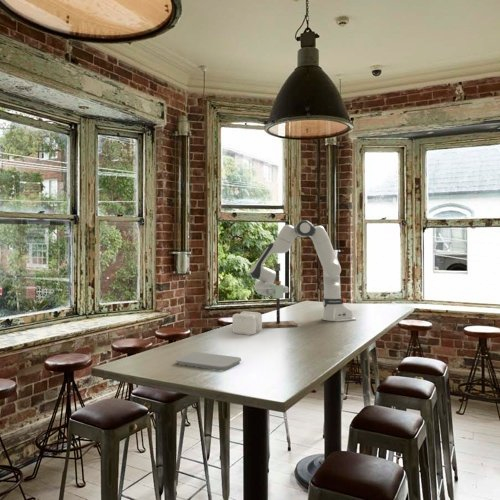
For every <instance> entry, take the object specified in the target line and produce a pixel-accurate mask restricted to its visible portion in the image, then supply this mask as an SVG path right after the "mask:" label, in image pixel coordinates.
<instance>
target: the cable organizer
mask: <svg viewBox="0 0 500 500" xmlns="http://www.w3.org/2000/svg"><path fill="white" fill-rule="evenodd" d="M262 316H263V315H262V313H260V312H257V311H256V312H255V311H247V310H243V311H241V312H240V313H234V314H232V320H231V321H232V332H233V333H234V334H235V333H236V335H237V334H238V335H242V334H243V335H247V336H252V335H255V334H256V333H259V332H262V330H263V328H262V322H263V317H262Z"/></svg>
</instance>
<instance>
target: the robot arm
mask: <svg viewBox="0 0 500 500" xmlns="http://www.w3.org/2000/svg"><path fill="white" fill-rule="evenodd" d="M307 237H309V238H310V239H311V241H312V245H314V249H315V251H316V254H317V256H318V259H319V262H320V265H321V267H322V270H323V271H322V272H323V273H322V277H323V299H322V305H323V311H322V316H321V320H323V321H328V322H330V321H331V322H347V321H356V320H357V317H356V316H353V311H352V309H351V308H350V307H348V306H347V305H346V304H345V303H346V302H347V300H346V298H343V297H342V296H341V295H342V294H341V292H342V291H341V289H342V288H341V275H340V274H341V272H342V267H341V264H340V262H339V259H338V257H337V255H336V253H335V250H334V248H333V245H332V242H331V239H330V237H329V234H328V233H327V231H326V229H325V227H324V226H323V225H314V224H313V223H312V222H311V221H309V220H307V219H302V220H301V221H300V220H299V222H297V223H296V224H295V225H291V224H285V225H284V226H282V228H281V229H280V231H279V233H278V234H277V236H276V239H275V240H274V241H273V242H270V243H268V244H267V246H266V247H265V248H264V249H263V250H262V253H260V255H259V257H258V258H257V260H256V261H255V263H254V264H253V265H252V266H251V268H250V270H249V274H250V277H251V278H252V279H255V280H258V281H256V282H255V284H254V285H253V289H254V291H255V292H256V293H257V294H259V295H262V296H266V297H273V293H275V290H272V285H276V284H275V281H276V271H275V270H273V269H271V268H269V267H266V266H264V264H265V263H266V261H267V260H268V258H269V257H270V255H271V256H272V254H285V253H288V252H289V251H290V250H291V247H292V246H293V243H294V241H295V239H296V238H307ZM279 285H283V284H282V283H281V284H279ZM288 293H289V287H288V286H286V285H285V284H284V285H283V294H288Z"/></svg>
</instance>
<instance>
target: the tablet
mask: <svg viewBox="0 0 500 500" xmlns="http://www.w3.org/2000/svg"><path fill="white" fill-rule="evenodd" d="M175 361H176V363H177V364H178V365H180V366H184V365H187V366H186V367H191V366H195V367H194V368H198V367H201V368H200V369H205V368H208V369H207V370H212V369H215V370H214V371H219V370H224V371H227V369H228V370H229V368H230V369H232V368H234V367H236V366H237V365H239V364H240V362H241V361H242V358H241V357H239V356H233V355H223V354H215V353H214V354H213V353H207V352H191V353H188V354H186V355H182V356H181V357H178V358H176V360H175ZM231 367H232V368H231Z"/></svg>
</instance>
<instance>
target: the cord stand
mask: <svg viewBox="0 0 500 500" xmlns="http://www.w3.org/2000/svg"><path fill="white" fill-rule="evenodd" d="M274 271H275V272H276V281H275V284H276V285H279V284H281V285H282V282H281V280H280V272H281V263H274ZM275 299H276V298H275ZM280 299H281V298H278V299H276V300H275V303H276V304H275V305H276V306H275V307H276V308H275V309H276V321H262V329H277V328H278V329H279V328H282V329H283V328H298V327H299V324H298V323H297V322H296V321H294V320H282V321H281V318H280V317H281V315H280V314H281V313H280V312H281V307H280V306H281V304H280V303H281V302H280Z"/></svg>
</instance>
